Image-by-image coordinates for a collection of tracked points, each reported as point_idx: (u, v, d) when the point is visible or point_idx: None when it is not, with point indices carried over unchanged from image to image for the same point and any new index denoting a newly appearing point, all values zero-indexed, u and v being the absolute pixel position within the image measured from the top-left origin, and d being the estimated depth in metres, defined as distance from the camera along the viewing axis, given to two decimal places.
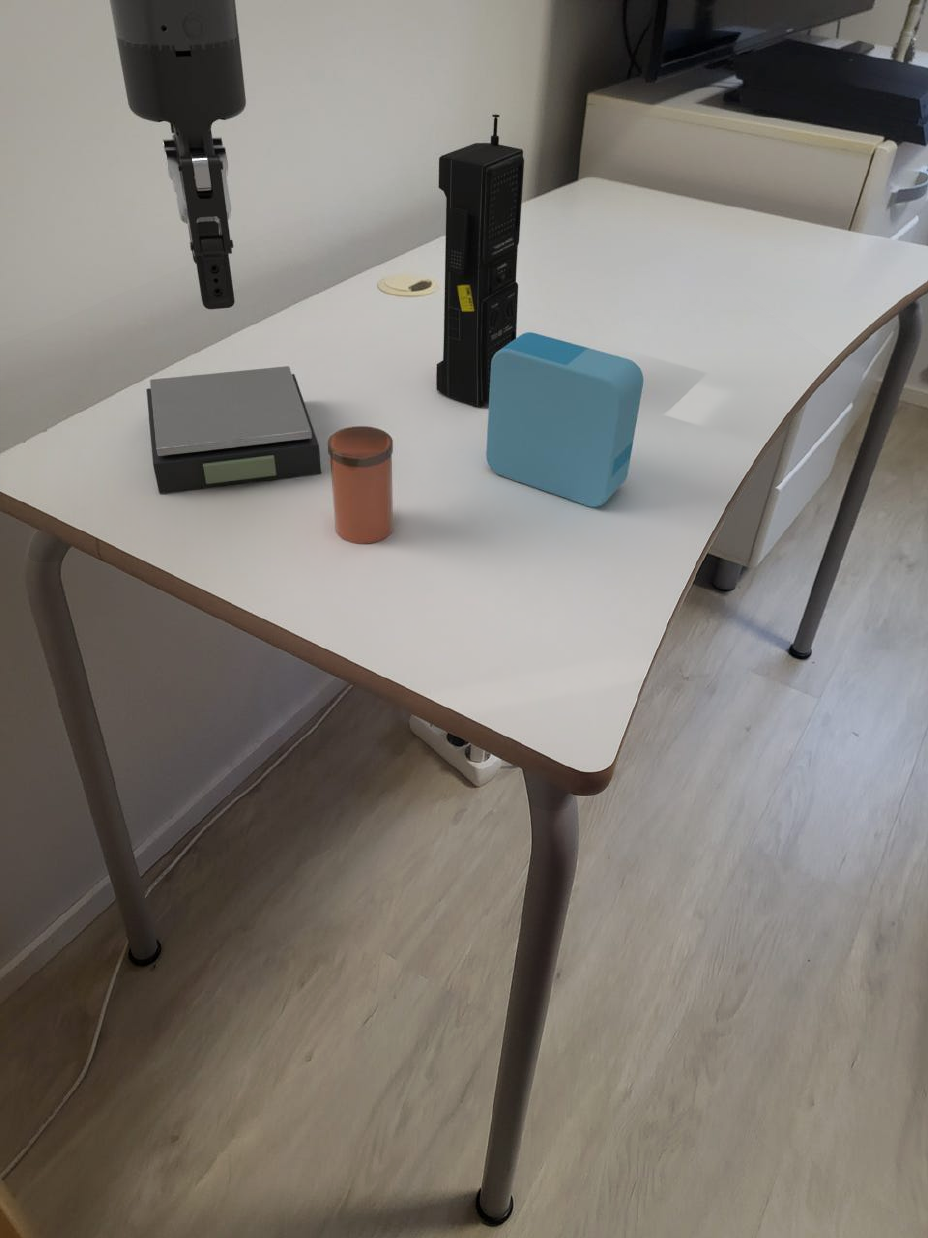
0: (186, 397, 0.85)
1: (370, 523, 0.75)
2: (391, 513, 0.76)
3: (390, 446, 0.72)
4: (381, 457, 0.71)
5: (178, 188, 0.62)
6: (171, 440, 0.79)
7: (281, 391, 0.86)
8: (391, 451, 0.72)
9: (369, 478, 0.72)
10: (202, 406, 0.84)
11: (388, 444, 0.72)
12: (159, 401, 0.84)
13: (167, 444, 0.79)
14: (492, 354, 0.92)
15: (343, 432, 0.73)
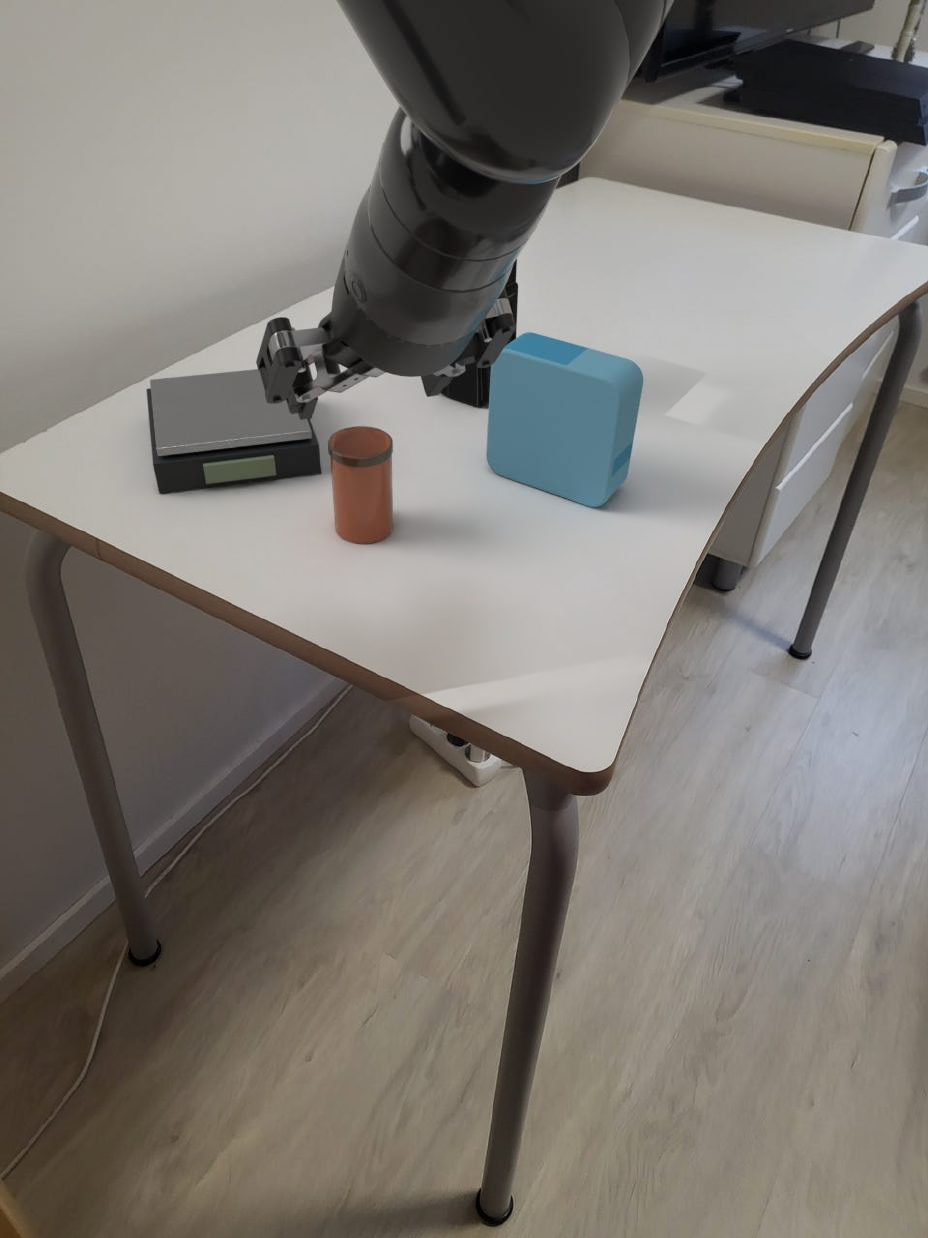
0: (186, 397, 0.85)
1: (370, 523, 0.75)
2: (391, 513, 0.76)
3: (390, 446, 0.72)
4: (381, 457, 0.71)
5: None
6: (171, 440, 0.79)
7: None
8: (391, 451, 0.72)
9: (369, 478, 0.72)
10: (202, 406, 0.84)
11: (388, 444, 0.72)
12: (159, 401, 0.84)
13: (167, 444, 0.79)
14: None
15: (343, 432, 0.73)
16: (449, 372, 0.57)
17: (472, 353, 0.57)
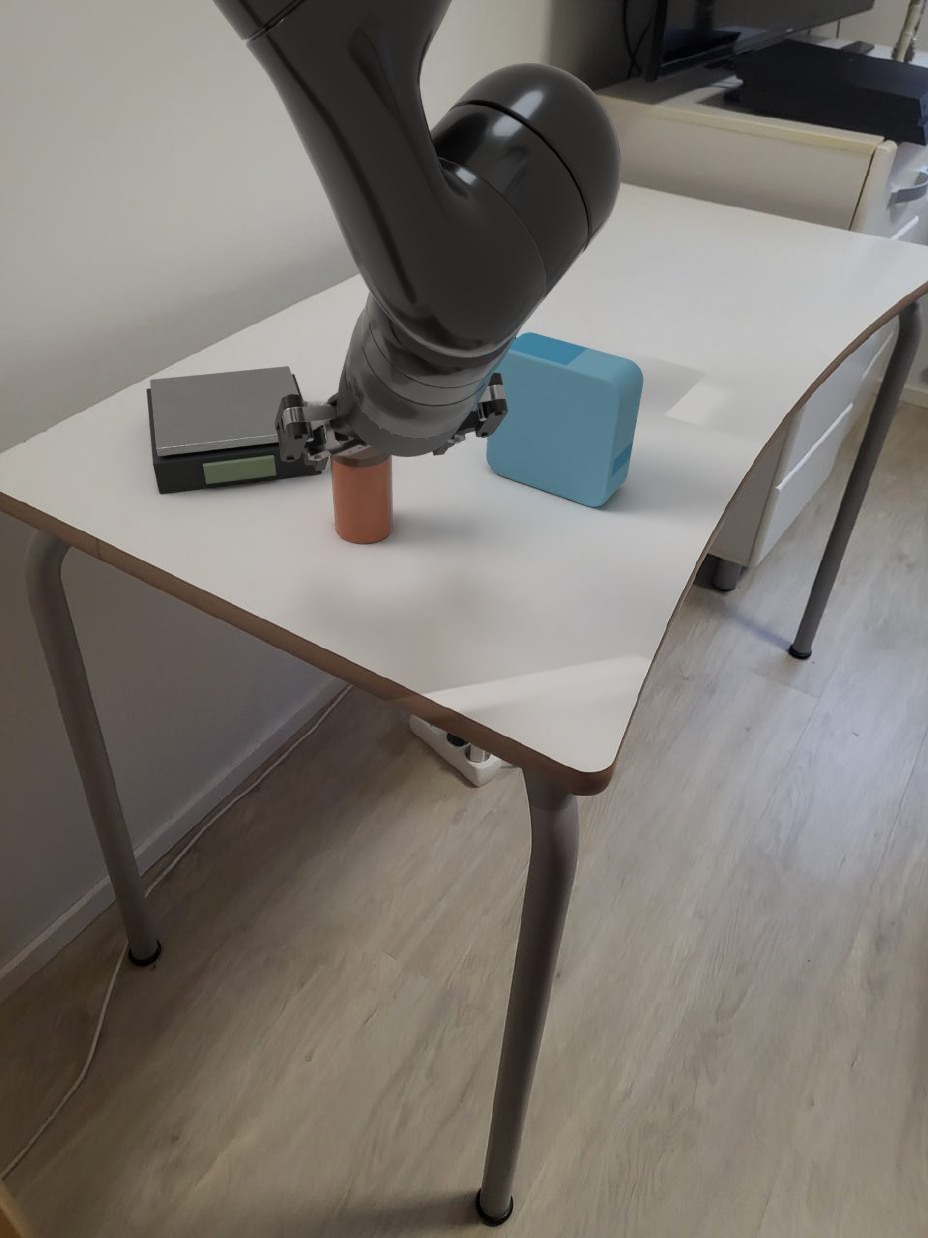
0: (186, 397, 0.85)
1: (370, 523, 0.75)
2: (391, 513, 0.76)
3: None
4: (381, 457, 0.71)
5: None
6: (171, 440, 0.79)
7: (281, 391, 0.86)
8: None
9: (369, 478, 0.72)
10: (202, 406, 0.84)
11: None
12: (159, 401, 0.84)
13: (167, 444, 0.79)
14: None
15: None
16: (450, 440, 0.63)
17: (472, 425, 0.62)
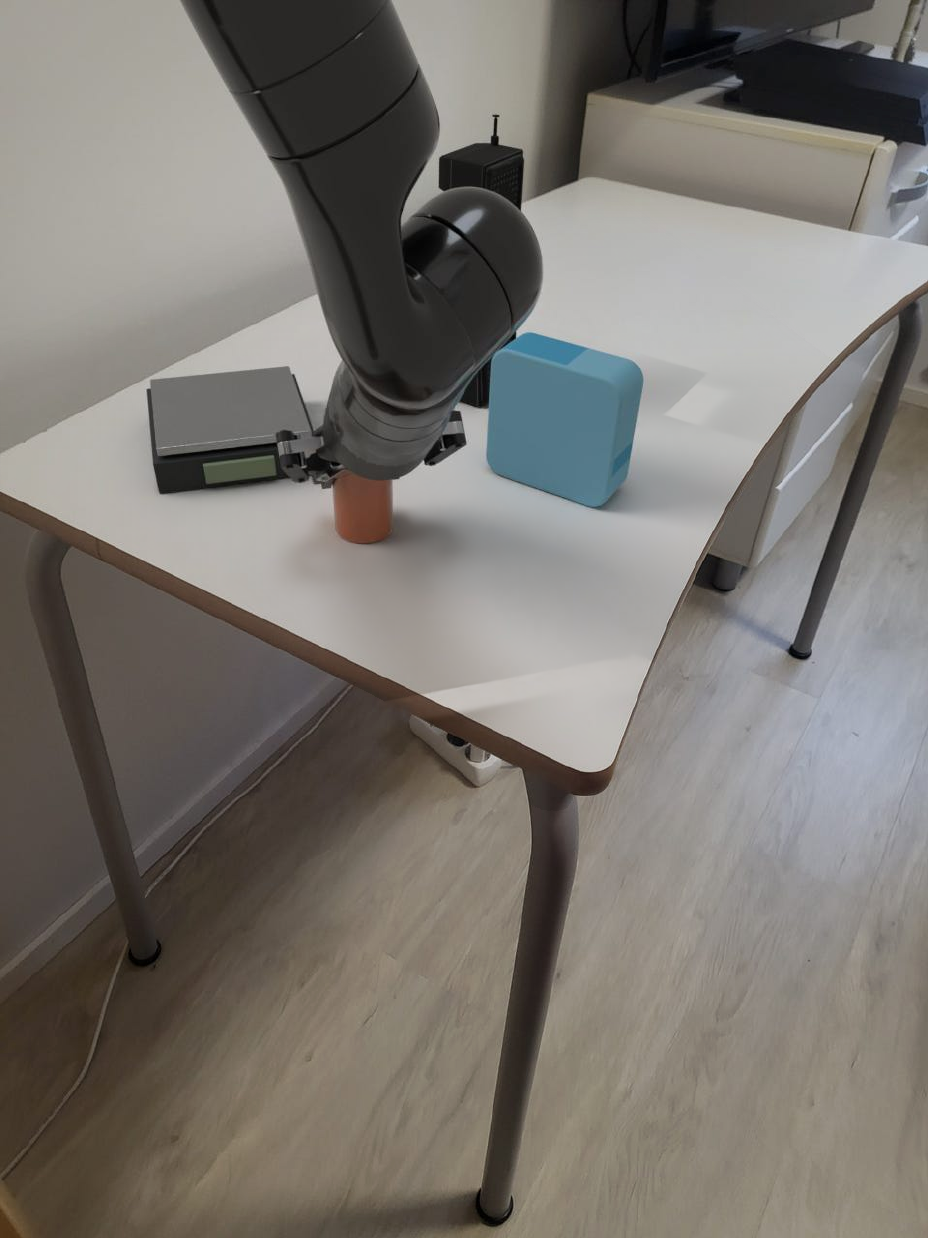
0: (186, 397, 0.85)
1: (370, 523, 0.75)
2: (391, 513, 0.76)
3: None
4: None
5: None
6: (171, 440, 0.79)
7: (281, 391, 0.86)
8: None
9: None
10: (202, 406, 0.84)
11: None
12: (159, 401, 0.84)
13: (167, 444, 0.79)
14: None
15: None
16: None
17: None
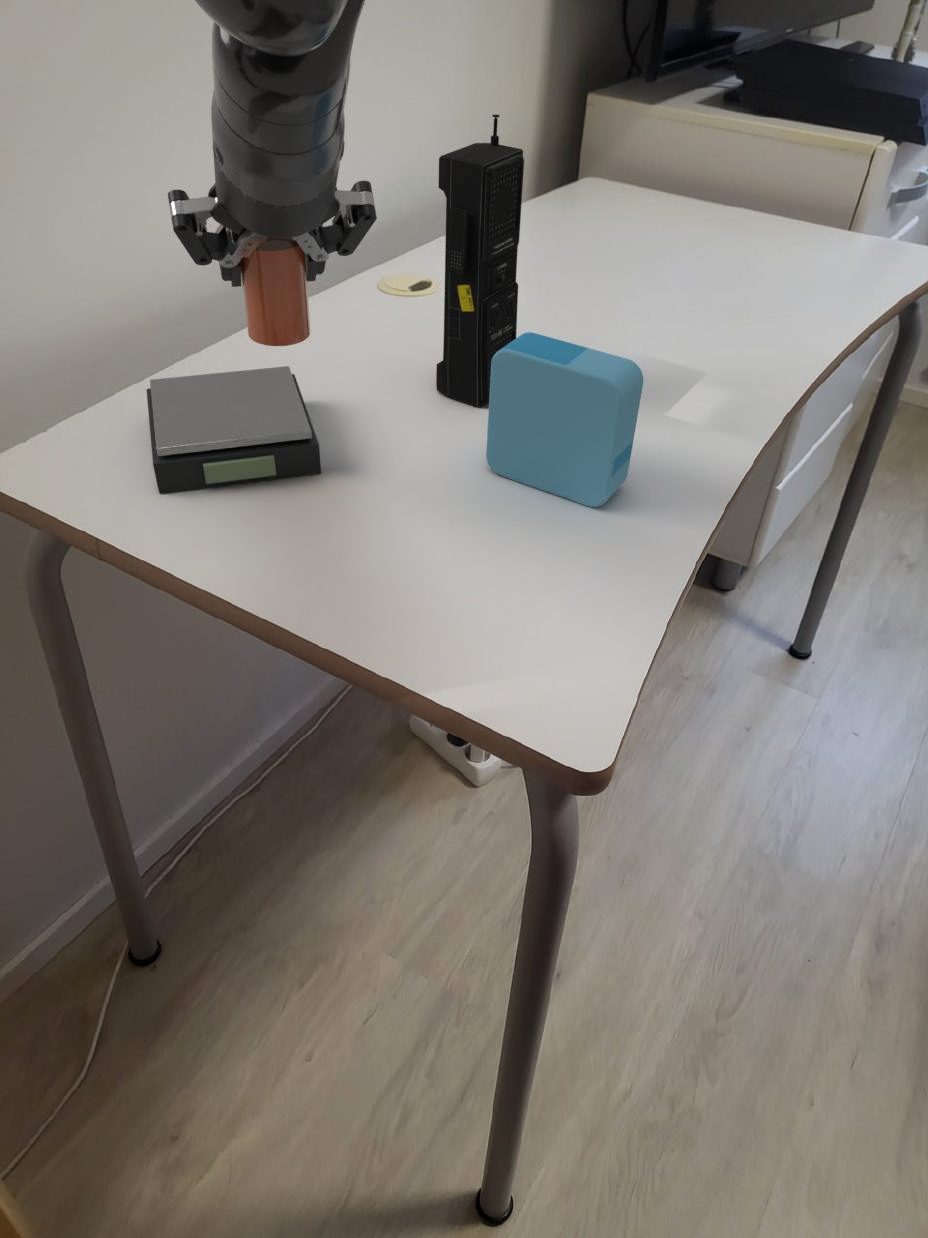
0: (186, 397, 0.85)
1: (282, 321, 0.70)
2: (306, 315, 0.72)
3: None
4: (290, 241, 0.67)
5: None
6: (171, 440, 0.79)
7: (281, 391, 0.86)
8: None
9: (278, 265, 0.68)
10: (202, 406, 0.84)
11: None
12: (159, 401, 0.84)
13: (167, 444, 0.79)
14: (492, 354, 0.92)
15: None
16: (313, 256, 0.68)
17: (333, 241, 0.68)
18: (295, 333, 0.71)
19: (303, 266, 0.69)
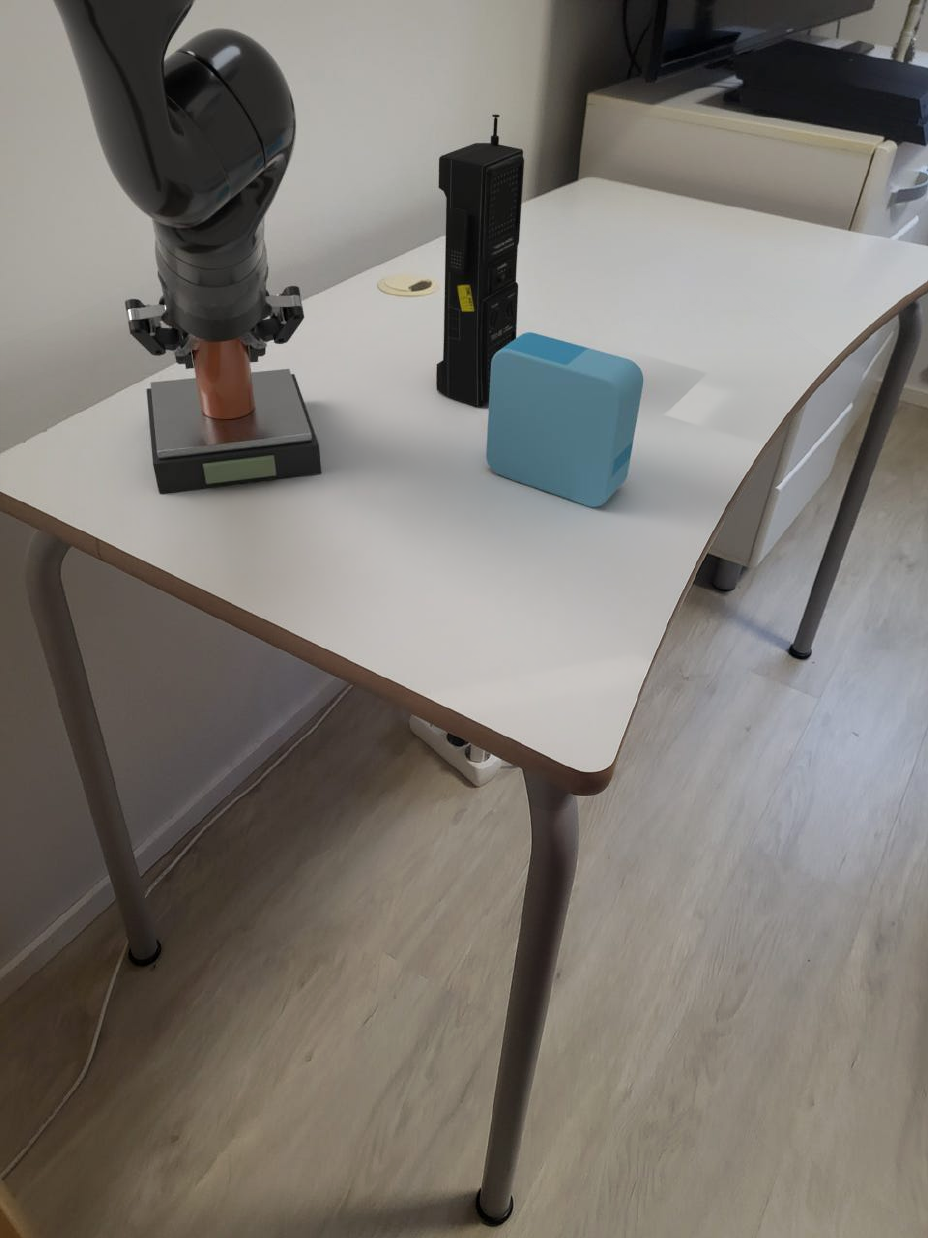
0: (187, 400, 0.85)
1: (229, 398, 0.82)
2: (250, 392, 0.83)
3: None
4: None
5: None
6: (171, 443, 0.79)
7: (281, 394, 0.87)
8: None
9: (223, 353, 0.79)
10: None
11: None
12: (160, 403, 0.85)
13: (168, 447, 0.79)
14: (492, 354, 0.92)
15: None
16: (253, 345, 0.79)
17: (270, 333, 0.79)
18: (240, 408, 0.83)
19: (246, 352, 0.81)
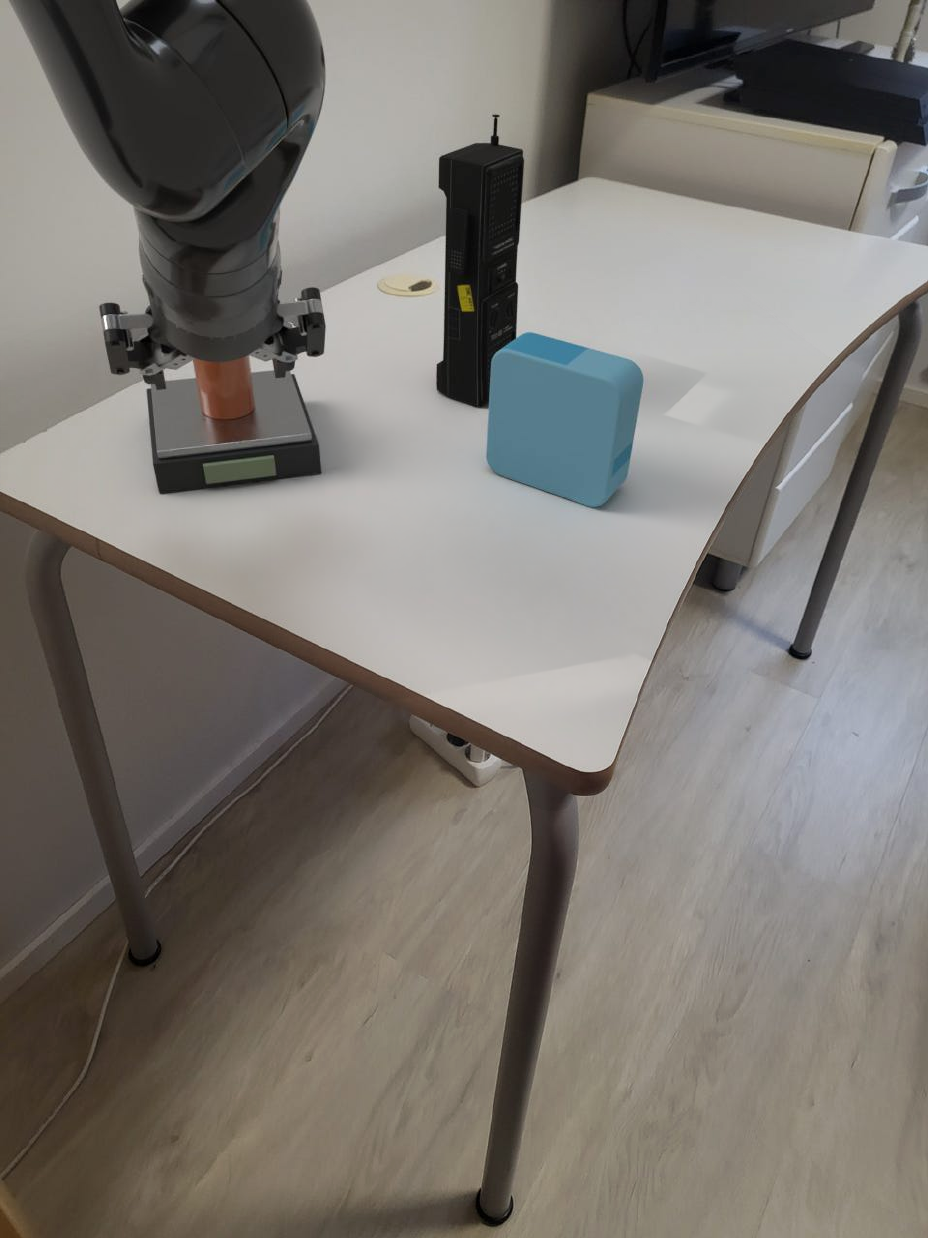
0: (187, 400, 0.85)
1: (229, 399, 0.82)
2: (250, 392, 0.83)
3: None
4: None
5: None
6: (172, 443, 0.79)
7: (281, 394, 0.87)
8: None
9: None
10: None
11: None
12: (160, 403, 0.85)
13: (168, 447, 0.79)
14: (492, 354, 0.92)
15: None
16: (282, 358, 0.65)
17: (302, 343, 0.65)
18: (240, 408, 0.83)
19: None
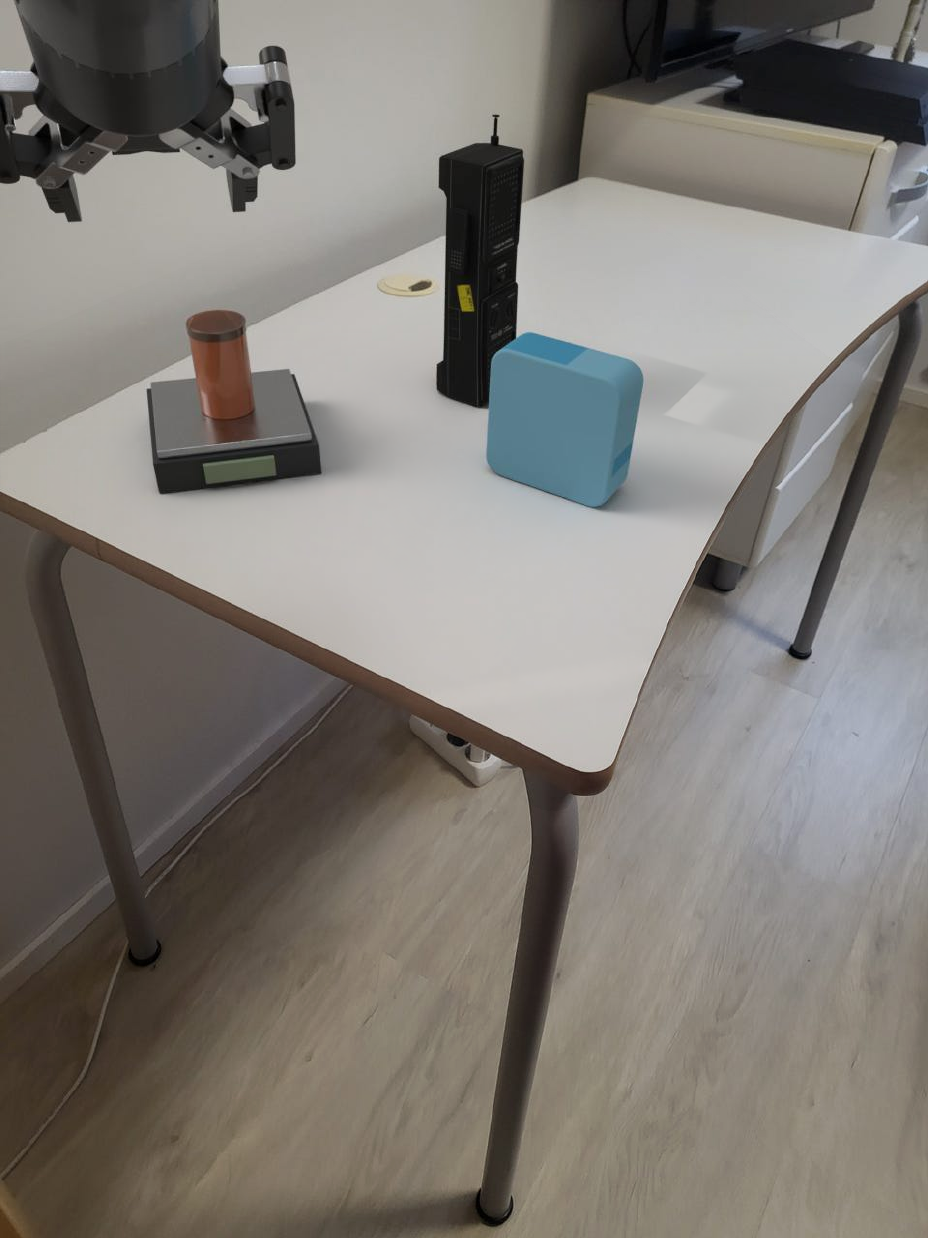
0: (187, 400, 0.85)
1: (229, 399, 0.82)
2: (250, 392, 0.83)
3: (242, 325, 0.79)
4: (232, 333, 0.78)
5: None
6: (172, 443, 0.79)
7: (281, 394, 0.87)
8: (244, 330, 0.79)
9: (223, 353, 0.79)
10: None
11: (241, 323, 0.79)
12: (160, 403, 0.85)
13: (168, 447, 0.79)
14: (492, 354, 0.92)
15: (202, 314, 0.80)
16: (237, 170, 0.47)
17: (265, 147, 0.47)
18: (240, 408, 0.83)
19: (245, 352, 0.81)
